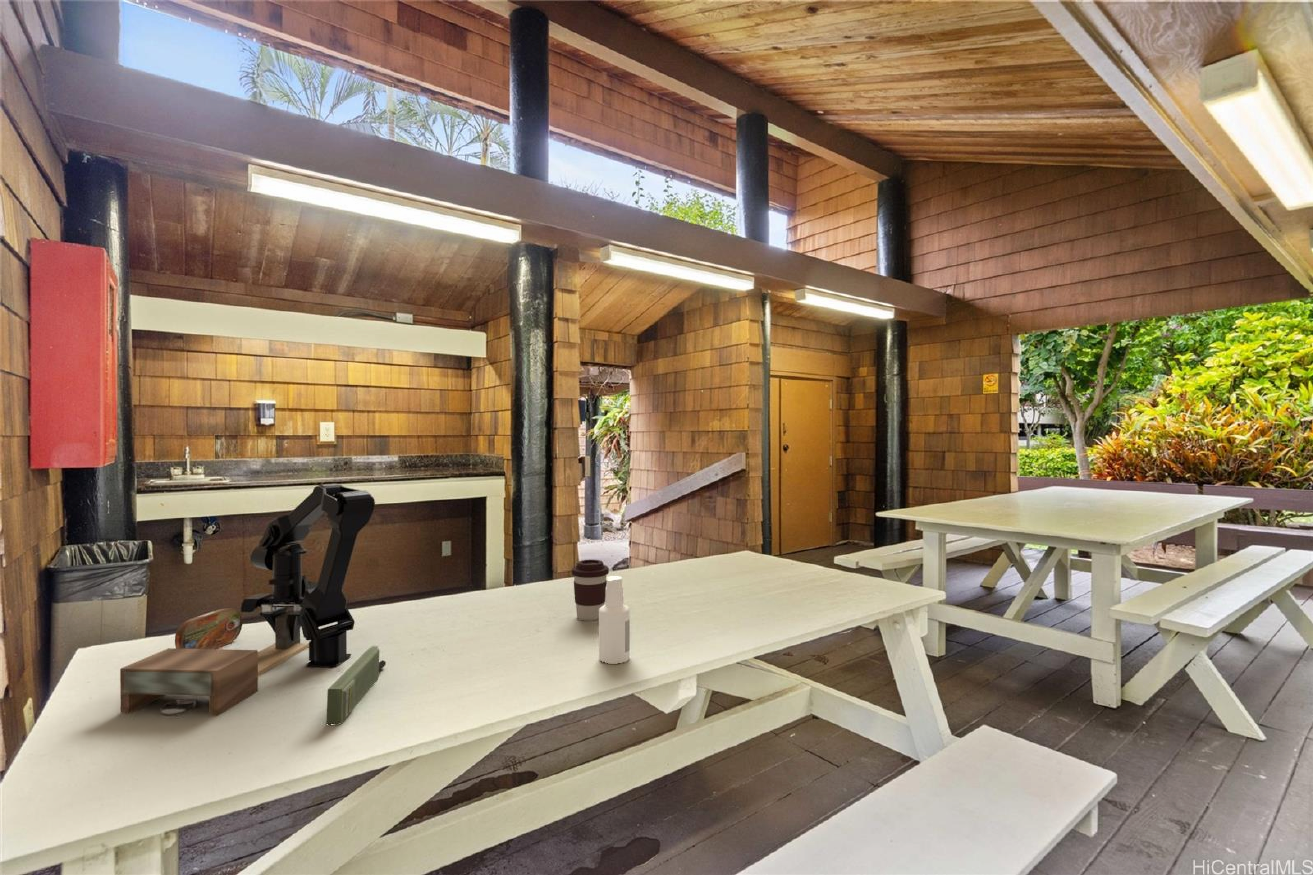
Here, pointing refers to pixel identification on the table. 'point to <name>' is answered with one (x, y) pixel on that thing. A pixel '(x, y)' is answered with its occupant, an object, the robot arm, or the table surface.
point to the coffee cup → (589, 588)
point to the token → (178, 707)
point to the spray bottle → (614, 624)
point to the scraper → (280, 646)
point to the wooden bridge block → (191, 677)
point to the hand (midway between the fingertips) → (288, 640)
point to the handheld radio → (353, 686)
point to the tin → (209, 630)
